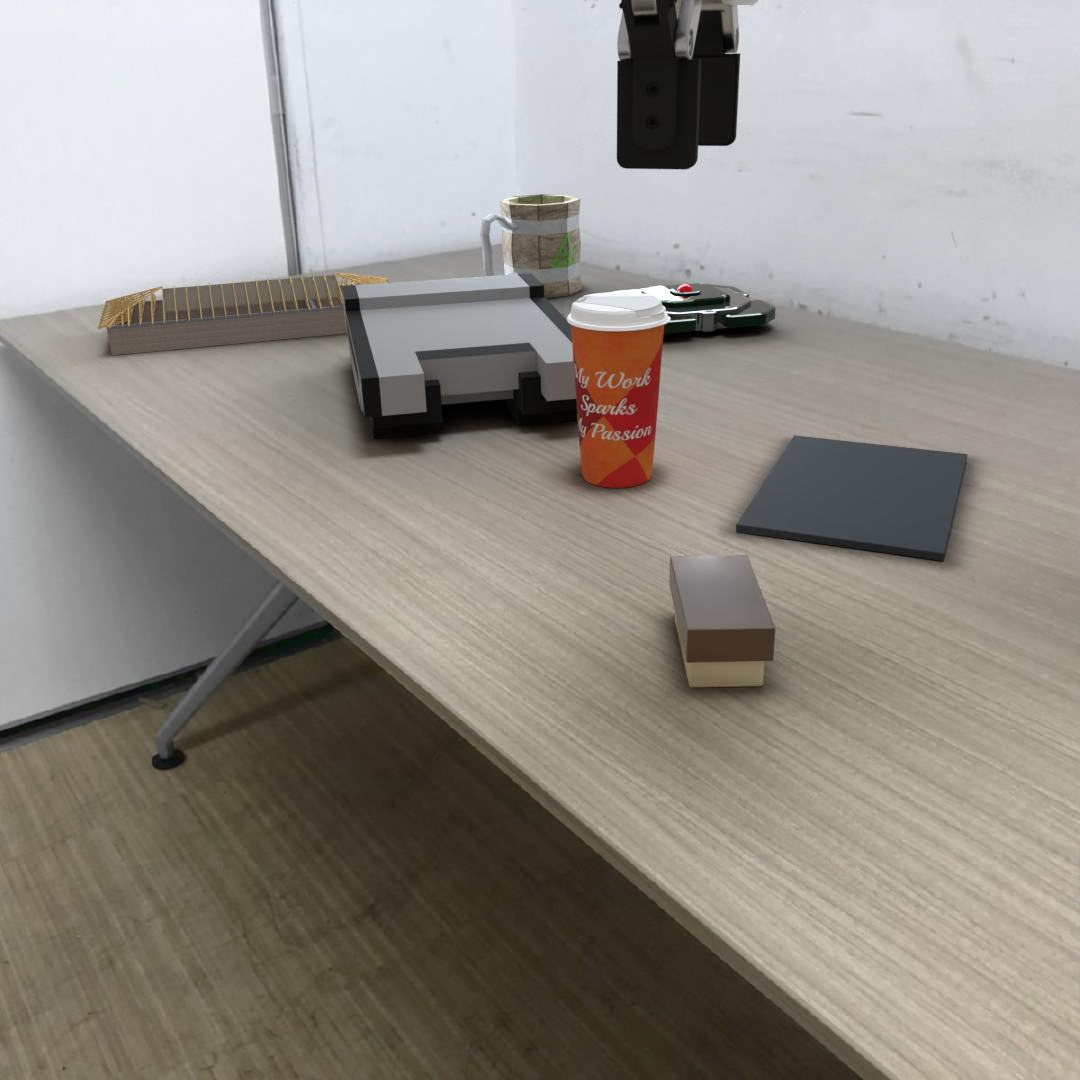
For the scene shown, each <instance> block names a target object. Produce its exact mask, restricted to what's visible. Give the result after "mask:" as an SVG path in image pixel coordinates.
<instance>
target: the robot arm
mask: <svg viewBox="0 0 1080 1080" xmlns="http://www.w3.org/2000/svg"><path fill="white" fill-rule="evenodd" d="M760 2H761V0H621V1H620V3H619V4H618V7H619V9H621V10H622V12H621V18H620V23H619V28H618V32H617V46H616V47H617V48H616V49H617V55H618V60H617V61H616V62H617V63H616V68H617V69H616V71H617V74H616V84H617V85H616V163H617V164H618V166H619V167H620V168H622V169H626V170H627V169H628V170H634V169H635V170H689V169H691V168H693V167H694V166H695V165H696V164H697V162H698V159H699V146H700V147H728V146H730V145H732V144H733V143H734V142H736V140H737V127H738V111H739V109H738V108H739V87H740V68H741V53H739V52H738V51H739V45H740V27H739V24H740V23H739V12H738V11H739V10H738V7H754V6H756V5H757V4H758V3H760Z"/></svg>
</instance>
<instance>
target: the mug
mask: <svg viewBox="0 0 1080 1080" xmlns="http://www.w3.org/2000/svg"><path fill="white" fill-rule="evenodd" d="M499 204H500V210H501V214H498V213H495V212H491V213H489V214H488V215H486V216H485V217H484V218H482V220H481V224H480V230H479V236H480V237H479V238H480V244H481V254H482V267H483V274H484V276H495V273H494V264H493V247H492V241H491V237H490V236H491V235H490V234H491V224H492V223H493V222H494V221H496V222H497V223H498V225H499V226H500V227H501V228H502V236H501V250H502V259H503V265H504V266H503V267H504V275H511V274H526V273H531V274H532V275H534V276H535V277H536V278H537V279H538V280H539V281H540V282H541V283H542V284H543V285H544V297H545V298H546V299H548V298H558V297H559V298H560V297H568V296H572V295H573V294H575V293H577V292H579V291H581V290H583V287H582V281H581V251H582V250H581V249H582V243H581V232H580V208H581V198H579V197H576V196H573V195H570V194H547V193H546V194H545V193H539V194H528V195H527V194H525V195H513V196H510V197H507V198H504V199H500V200H499Z"/></svg>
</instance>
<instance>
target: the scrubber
mask: <svg viewBox="0 0 1080 1080" xmlns="http://www.w3.org/2000/svg"><path fill="white" fill-rule="evenodd" d="M668 578H669V581H668V582H669V583H668V585H669V590H670V595H671V599H672V603H673V608H674V624H675V627H676V632H677V636H678V637H677V638H678V640H679V641H678V642H679V646H680V651H681V655H682V659H683V664H684V669H685V673H686V676H687V683H688V686H689V688H730V687H732V688H733V687H738V688H739V687H762V686H764V677H765V662H773V661H774V657H775V641H776V626H775V624H774V621H773V618H772V616H771V613H770V610H769V608H768V605H767V603H766V601H765V598H764V595H763V593H762V589H761V588H760V585H759V582H758V580H757V577H756V574H755V572H754V569H753V566H752V564H751V561H750V558H749V556H748V554H717V555H674V556H673V555H672V556H669V577H668Z"/></svg>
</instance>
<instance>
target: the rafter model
mask: <svg viewBox="0 0 1080 1080" xmlns="http://www.w3.org/2000/svg"><path fill="white" fill-rule="evenodd" d="M337 276H340V277H341V280H340V282H339V279H338V277H337ZM379 283H391V282H390V281H389V279H387V277H381V276H371V275H363V274H354V273H345V272H338V271H337V272H336V271H335V272H334V273H333V274H327V275H326V274H325V273H323V274H322V275H314V274H311V276H305V277H303V275H300V277H292V276H291V275H289V277H288V278H280V276H278V278H277V279H269V277H266V280H257V279H255V280H254V281H252V280H251V281H246V280H245V279H243V281H242V282H234V280H232V282H230V283H222V282H220V283H215V284H211V282H208V284H205V285H204V284H203V285H199V283H198V282H197V284H196V285H193V286H192V285H191V286H187V284H185V286H179V287H175V285H174V284H173V287H166V288H163V286H158V287H154V288H150V289H146V290H142V291H138V292H135V293H131V294H128V295H124V296H120V297H115V298H113V299H109V300H108V299H107V300H105V302H104V305H103V308H102V309H103V310H102V313H101V316H100V319H99V322H98V324H97V327H96V328H97V330H101V329H104V328H105V329H106V331H107V338H108V342H109V348H110V353H111V356H119V355H129V354H130V355H131V354H139V353H140V354H141V353H151V352H152V353H153V352H161V351H172V350H183V349H193V348H205V347H214V346H225V345H226V346H227V345H236V344H246V343H247V344H248V343H257V342H258V343H259V342H267V341H279V340H289V339H300V338H313V337H323V336H332V335H333V336H335V335H344V334H347V332H346V327H345V317H344V307H343V297H342V287H341V286H350V285H365V284H379ZM159 290H161V298H162V299H157V296H156V294H155V293H156V292H158V291H159ZM149 297H150V300H146V299H147V298H149Z"/></svg>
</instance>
